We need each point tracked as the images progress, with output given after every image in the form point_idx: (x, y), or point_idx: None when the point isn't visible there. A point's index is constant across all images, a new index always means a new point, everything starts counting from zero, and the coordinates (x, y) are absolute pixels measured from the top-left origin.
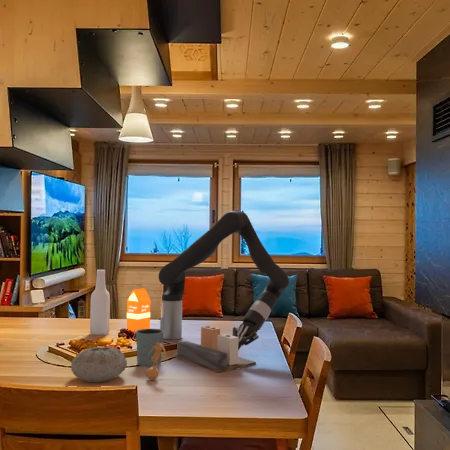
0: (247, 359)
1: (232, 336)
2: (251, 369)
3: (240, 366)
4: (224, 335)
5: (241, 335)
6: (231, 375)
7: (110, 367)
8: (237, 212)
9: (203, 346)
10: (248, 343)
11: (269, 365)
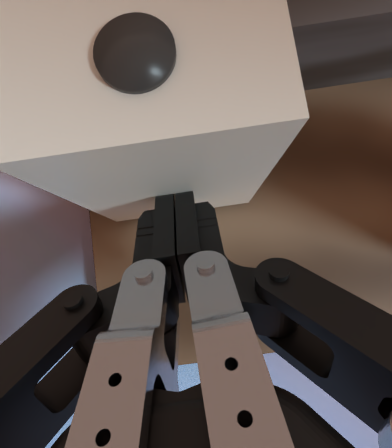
0: (192, 359)
1: (86, 112)
2: (40, 272)
3: (93, 225)
4: (211, 36)
5: (131, 332)
6: None
7: None
8: None
9: (373, 2)
10: (66, 362)
11: (49, 443)
